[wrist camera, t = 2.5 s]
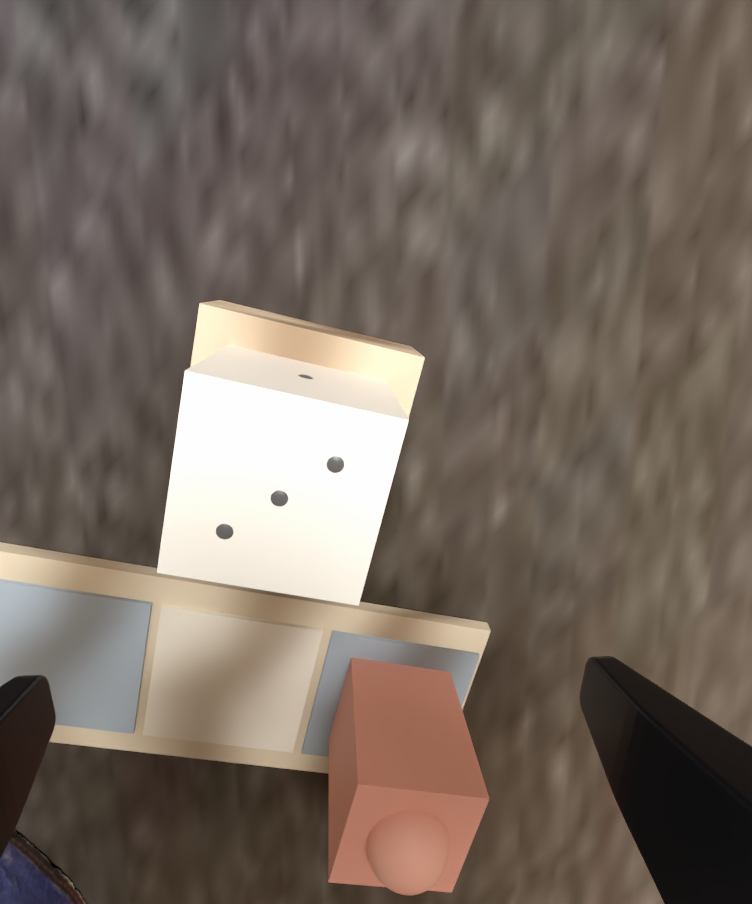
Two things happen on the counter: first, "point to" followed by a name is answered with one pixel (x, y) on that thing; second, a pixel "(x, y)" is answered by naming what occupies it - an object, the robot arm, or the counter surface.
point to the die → (279, 475)
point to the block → (307, 345)
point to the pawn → (401, 780)
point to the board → (203, 657)
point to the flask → (32, 877)
